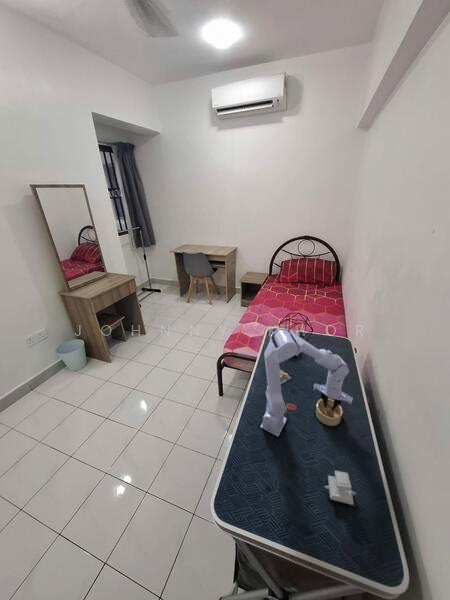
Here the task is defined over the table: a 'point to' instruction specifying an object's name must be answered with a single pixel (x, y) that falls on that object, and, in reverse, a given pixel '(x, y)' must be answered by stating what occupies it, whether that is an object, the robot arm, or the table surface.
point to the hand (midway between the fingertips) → (329, 407)
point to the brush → (328, 410)
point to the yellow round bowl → (326, 419)
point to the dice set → (284, 376)
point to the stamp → (340, 488)
